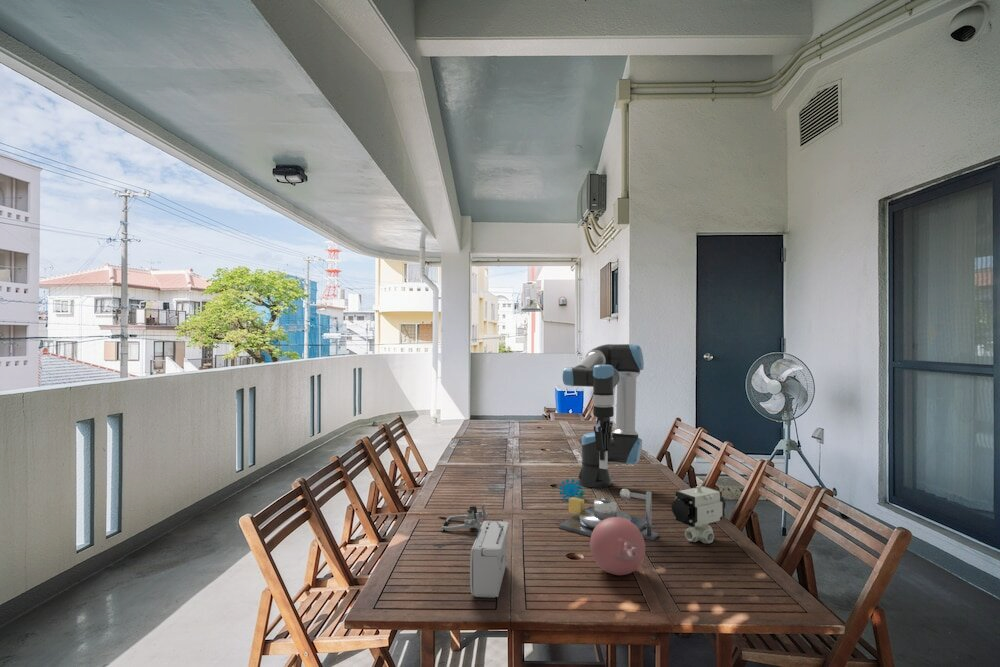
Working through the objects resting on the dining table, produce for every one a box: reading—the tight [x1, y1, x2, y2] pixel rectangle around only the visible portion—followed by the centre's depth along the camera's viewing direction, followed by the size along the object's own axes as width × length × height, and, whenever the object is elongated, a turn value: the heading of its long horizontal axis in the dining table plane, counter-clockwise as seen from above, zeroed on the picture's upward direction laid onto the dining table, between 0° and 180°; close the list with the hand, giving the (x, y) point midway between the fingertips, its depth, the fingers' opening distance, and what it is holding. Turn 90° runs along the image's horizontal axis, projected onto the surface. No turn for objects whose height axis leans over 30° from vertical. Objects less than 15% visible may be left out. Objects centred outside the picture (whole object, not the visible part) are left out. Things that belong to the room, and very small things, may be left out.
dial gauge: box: [619, 488, 659, 541], centre depth 174 cm, size 5×12×15 cm, turn 53°
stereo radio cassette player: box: [469, 520, 510, 598], centre depth 140 cm, size 21×8×20 cm, turn 173°
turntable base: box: [558, 506, 646, 537], centre depth 181 cm, size 24×24×1 cm
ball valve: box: [671, 485, 726, 544], centre depth 168 cm, size 18×8×18 cm, turn 117°
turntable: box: [568, 496, 631, 529], centre depth 183 cm, size 18×23×6 cm
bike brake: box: [438, 503, 489, 532], centre depth 181 cm, size 14×7×20 cm
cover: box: [593, 497, 618, 519], centre depth 182 cm, size 8×8×6 cm
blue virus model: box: [558, 478, 587, 502], centre depth 213 cm, size 11×6×10 cm
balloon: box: [589, 517, 646, 576], centre depth 143 cm, size 15×20×15 cm
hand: (603, 468), depth 191 cm, fingers closed
